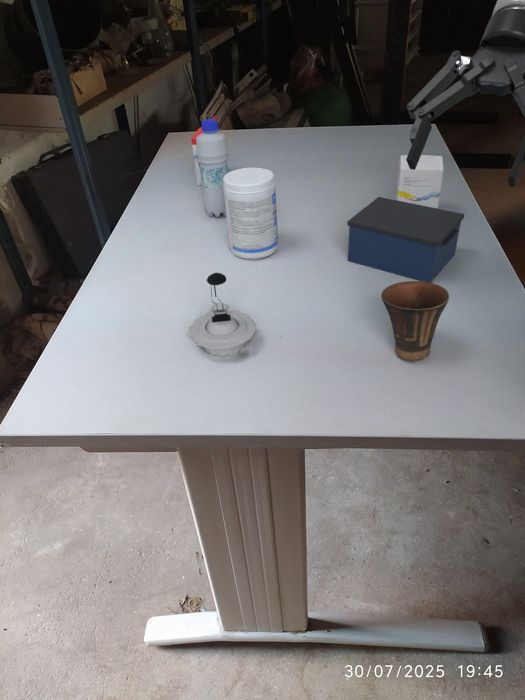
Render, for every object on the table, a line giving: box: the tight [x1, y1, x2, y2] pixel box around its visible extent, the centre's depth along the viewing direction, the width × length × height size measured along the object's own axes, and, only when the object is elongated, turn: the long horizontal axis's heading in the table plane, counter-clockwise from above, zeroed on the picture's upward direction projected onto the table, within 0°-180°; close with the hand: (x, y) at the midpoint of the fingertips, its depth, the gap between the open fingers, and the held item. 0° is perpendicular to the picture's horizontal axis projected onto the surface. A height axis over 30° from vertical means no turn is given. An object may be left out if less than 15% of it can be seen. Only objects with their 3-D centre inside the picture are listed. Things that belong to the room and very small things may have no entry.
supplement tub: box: [223, 167, 279, 260], centre depth 102 cm, size 10×10×15 cm
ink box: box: [394, 154, 445, 209], centre depth 111 cm, size 9×8×12 cm
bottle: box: [196, 118, 230, 218], centre depth 114 cm, size 7×7×20 cm
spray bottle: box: [190, 114, 218, 187], centre depth 133 cm, size 8×5×15 cm, turn 172°
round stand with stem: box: [188, 272, 257, 357], centre depth 79 cm, size 12×10×10 cm
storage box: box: [346, 196, 465, 283], centre depth 98 cm, size 17×13×8 cm
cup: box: [380, 280, 450, 362], centre depth 76 cm, size 9×9×10 cm
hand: (458, 173), depth 72 cm, fingers open, 13 cm apart
